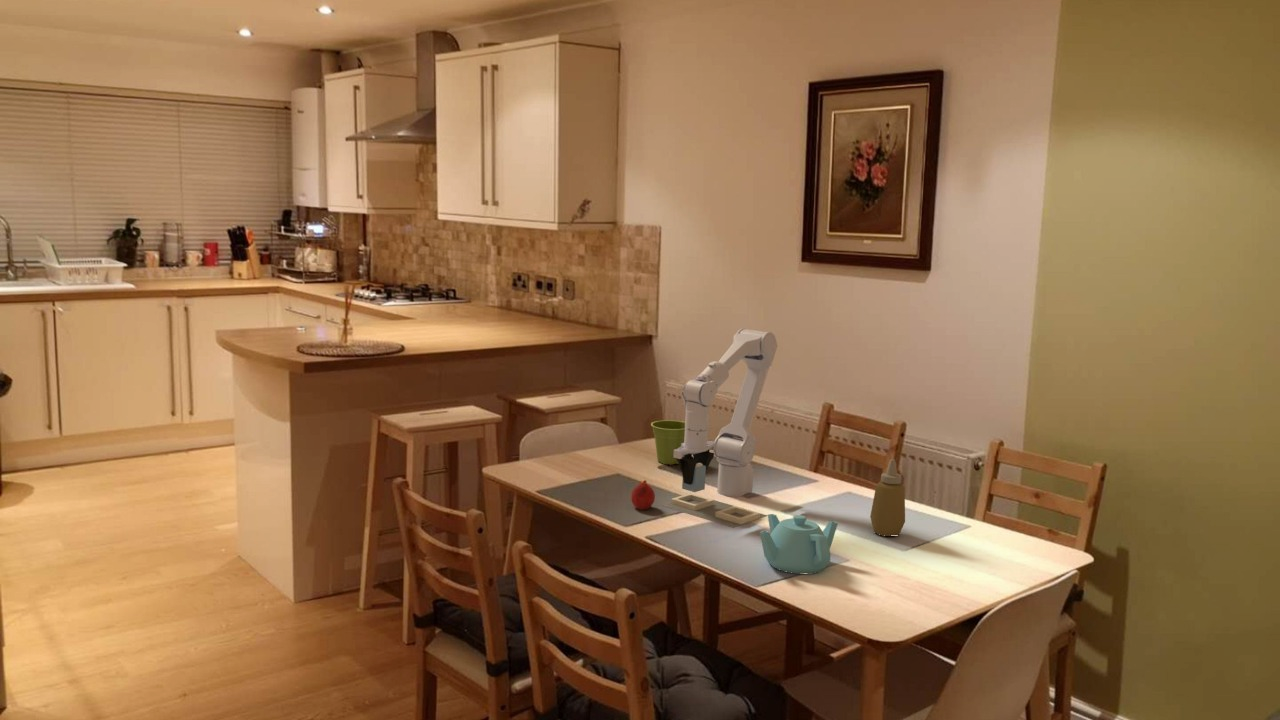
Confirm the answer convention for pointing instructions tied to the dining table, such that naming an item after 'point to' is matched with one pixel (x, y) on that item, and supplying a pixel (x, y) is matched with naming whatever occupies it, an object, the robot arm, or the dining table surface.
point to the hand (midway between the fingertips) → (693, 481)
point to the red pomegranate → (642, 496)
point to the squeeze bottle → (889, 503)
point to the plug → (696, 479)
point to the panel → (713, 510)
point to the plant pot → (668, 439)
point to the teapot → (797, 544)
